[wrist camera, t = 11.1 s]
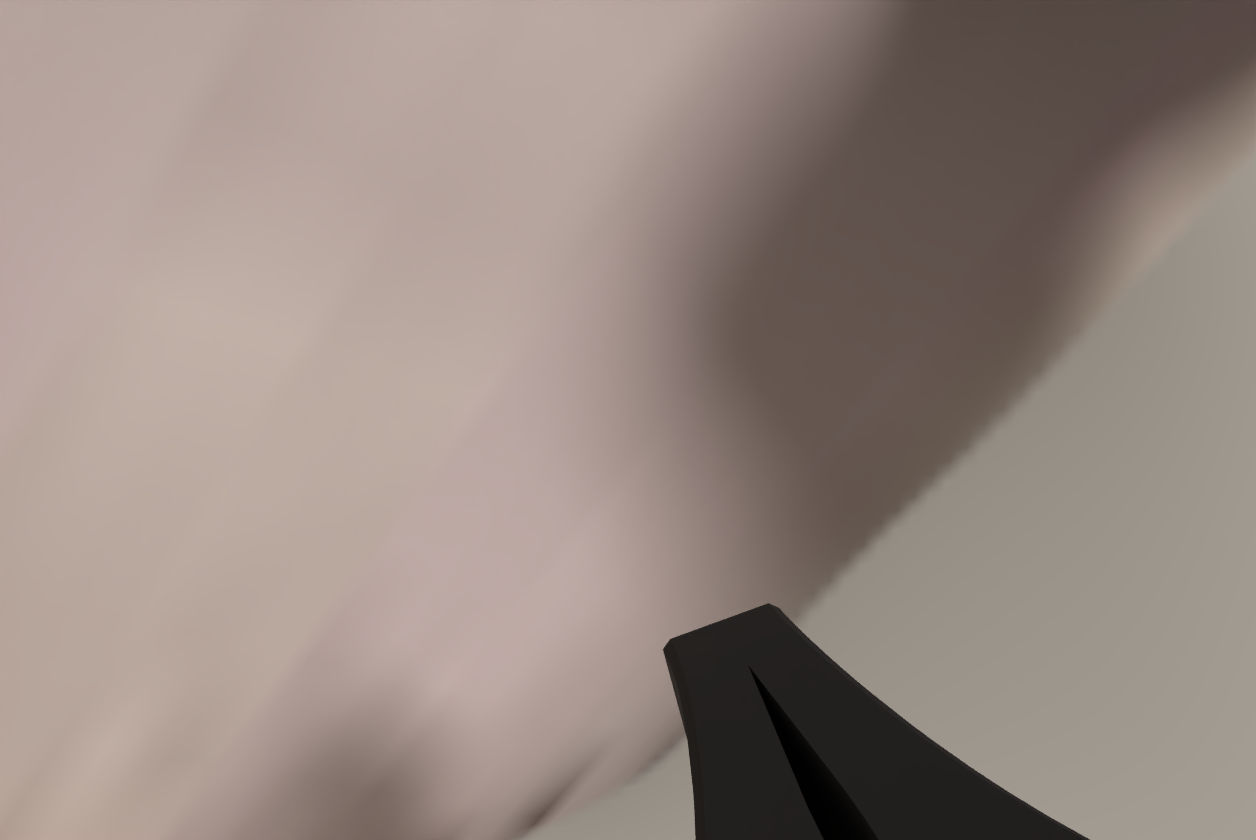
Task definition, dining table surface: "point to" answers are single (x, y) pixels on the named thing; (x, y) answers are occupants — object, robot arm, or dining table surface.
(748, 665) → the robot arm
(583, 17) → the dining table surface
